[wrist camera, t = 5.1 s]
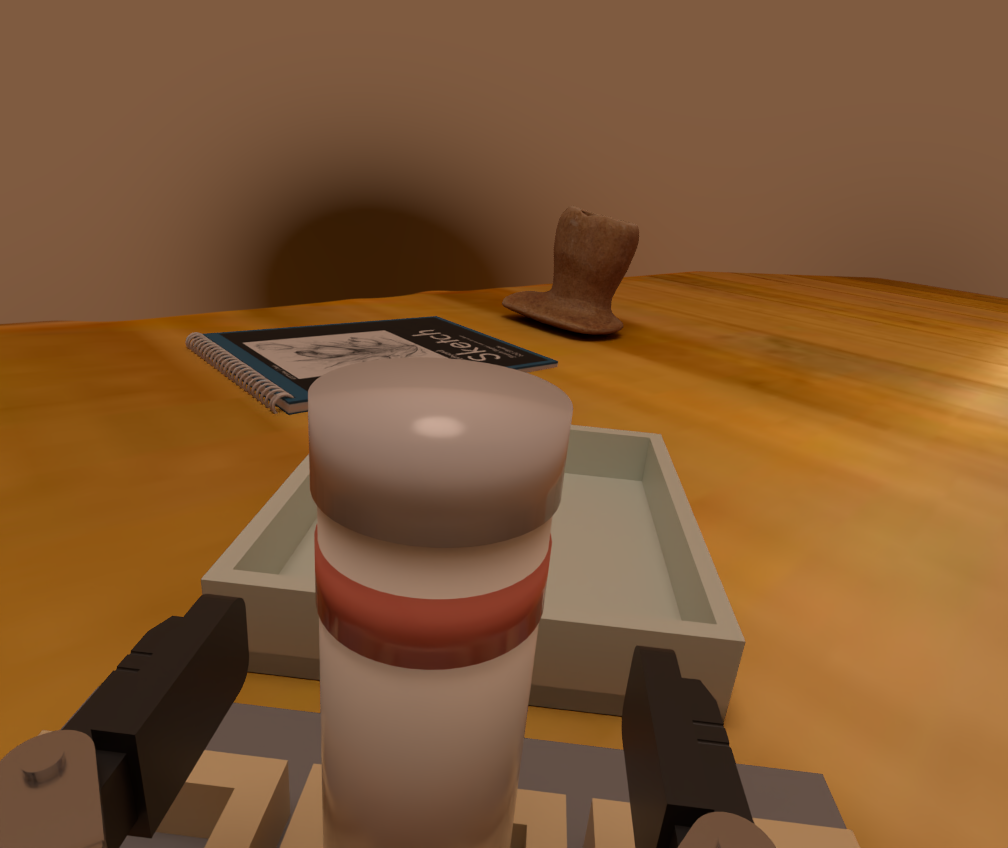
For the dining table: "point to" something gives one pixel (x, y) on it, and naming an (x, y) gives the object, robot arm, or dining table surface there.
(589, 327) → the stone cup
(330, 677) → the fuse
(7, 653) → the dining table surface
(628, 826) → the block
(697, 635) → the parts tray
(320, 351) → the sketchbook
